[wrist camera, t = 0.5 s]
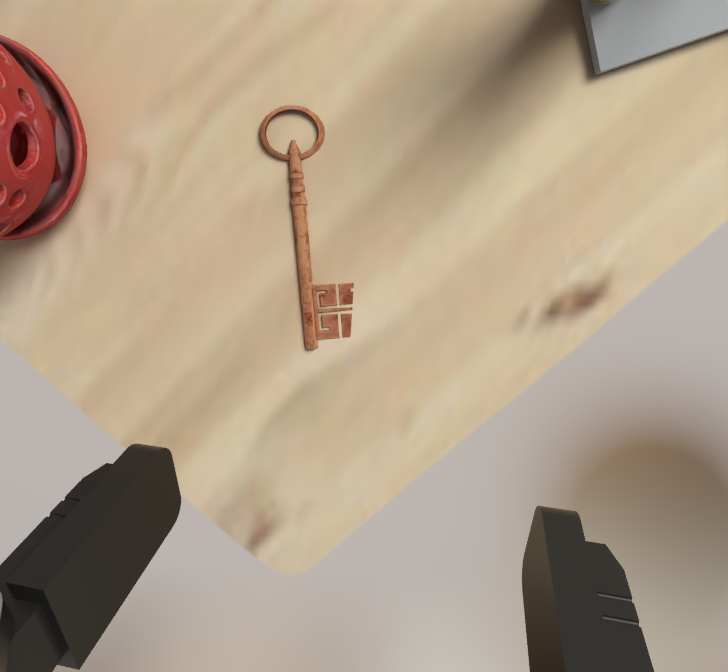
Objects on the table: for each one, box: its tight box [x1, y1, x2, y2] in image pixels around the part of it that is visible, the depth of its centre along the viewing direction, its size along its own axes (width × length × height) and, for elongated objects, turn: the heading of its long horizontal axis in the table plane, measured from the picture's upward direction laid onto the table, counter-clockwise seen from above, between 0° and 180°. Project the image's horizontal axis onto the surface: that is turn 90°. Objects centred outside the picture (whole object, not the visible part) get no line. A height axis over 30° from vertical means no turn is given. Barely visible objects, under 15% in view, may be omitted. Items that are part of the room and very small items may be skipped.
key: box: [260, 106, 354, 349], centre depth 32 cm, size 6×1×15 cm
